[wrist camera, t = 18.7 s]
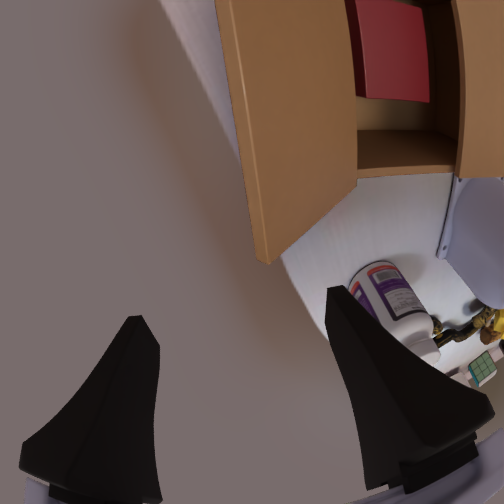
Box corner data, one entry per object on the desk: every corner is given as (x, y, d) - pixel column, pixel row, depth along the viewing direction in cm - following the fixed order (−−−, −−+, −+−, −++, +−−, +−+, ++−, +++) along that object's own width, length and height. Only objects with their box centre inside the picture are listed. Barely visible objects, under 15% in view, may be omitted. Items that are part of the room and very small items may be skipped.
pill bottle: (367, 310, 26) (403, 392, 18) (335, 290, 24) (373, 385, 16) (406, 275, 24) (455, 353, 16) (379, 249, 22) (437, 338, 14)
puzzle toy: (468, 364, 44) (478, 383, 39) (487, 349, 42) (497, 368, 37) (469, 370, 46) (478, 388, 42) (486, 356, 44) (496, 373, 40)
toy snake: (407, 377, 27) (449, 317, 22) (392, 351, 31) (426, 290, 26) (482, 350, 30) (514, 301, 25) (468, 332, 34) (497, 283, 29)
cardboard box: (300, 138, 16) (355, 188, 10) (279, -21, 10) (321, -81, 3) (435, 134, 16) (514, 178, 9) (426, 2, 10) (511, -3, 3)
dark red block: (369, 19, 11) (421, 8, 7) (376, 90, 14) (429, 103, 10) (314, 15, 11) (353, -8, 7) (324, 90, 14) (366, 98, 10)
